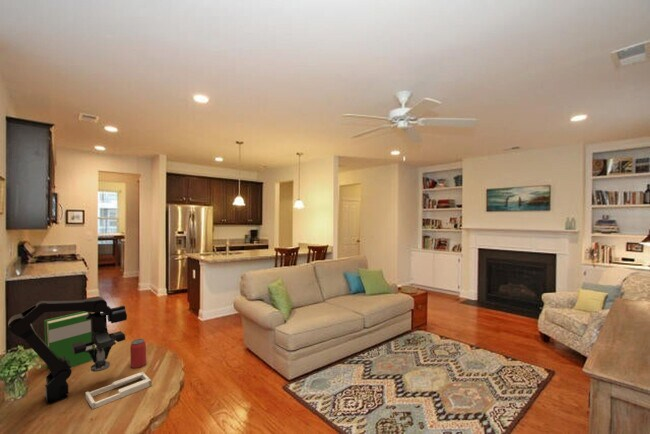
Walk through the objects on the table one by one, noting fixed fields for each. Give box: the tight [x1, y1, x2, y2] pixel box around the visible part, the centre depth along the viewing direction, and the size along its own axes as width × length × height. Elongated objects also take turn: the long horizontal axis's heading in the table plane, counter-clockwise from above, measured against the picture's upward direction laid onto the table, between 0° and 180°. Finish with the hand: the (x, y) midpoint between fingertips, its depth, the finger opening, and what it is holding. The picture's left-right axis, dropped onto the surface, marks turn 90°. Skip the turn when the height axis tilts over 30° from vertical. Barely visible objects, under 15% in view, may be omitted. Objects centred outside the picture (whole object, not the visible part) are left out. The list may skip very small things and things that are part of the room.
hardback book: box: [43, 311, 96, 370], centre depth 158 cm, size 18×7×24 cm, turn 142°
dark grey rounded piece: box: [90, 346, 111, 373], centre depth 141 cm, size 7×7×9 cm
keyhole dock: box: [85, 371, 152, 410], centre depth 136 cm, size 22×11×2 cm, turn 138°
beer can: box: [129, 338, 147, 369], centre depth 158 cm, size 7×7×12 cm
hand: (100, 360), depth 142 cm, fingers closed on dark grey rounded piece, 4 cm apart
